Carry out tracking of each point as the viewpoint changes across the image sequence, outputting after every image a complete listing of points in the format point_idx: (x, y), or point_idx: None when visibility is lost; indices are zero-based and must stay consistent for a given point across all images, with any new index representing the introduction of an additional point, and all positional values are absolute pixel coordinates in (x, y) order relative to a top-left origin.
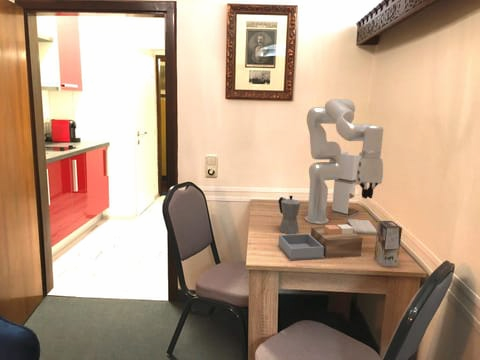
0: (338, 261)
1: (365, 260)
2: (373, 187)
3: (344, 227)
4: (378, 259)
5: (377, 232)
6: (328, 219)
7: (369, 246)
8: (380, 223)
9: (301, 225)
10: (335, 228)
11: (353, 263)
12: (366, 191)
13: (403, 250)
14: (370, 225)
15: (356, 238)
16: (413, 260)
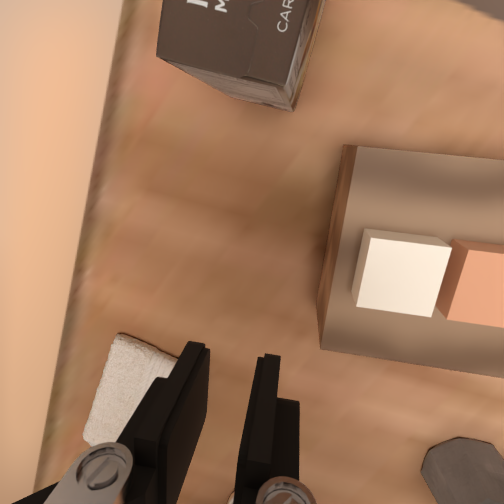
0: (499, 113)
1: (357, 91)
2: (98, 479)
3: (423, 261)
4: (311, 52)
5: (295, 80)
6: (231, 500)
7: (230, 232)
8: (306, 14)
9: (366, 495)
10: (500, 261)
11: (443, 71)
12: (272, 430)
13: (110, 153)
14: (109, 392)
15: (400, 150)
16: (132, 34)
